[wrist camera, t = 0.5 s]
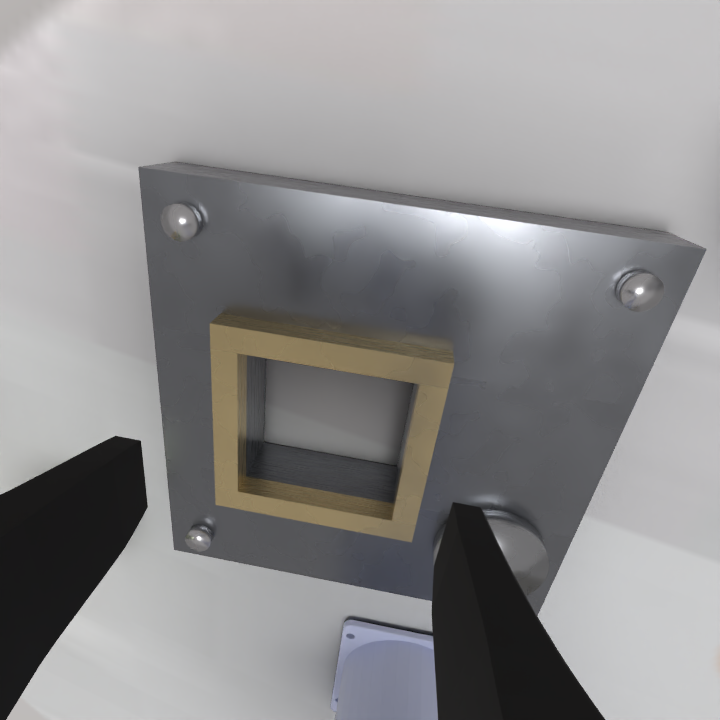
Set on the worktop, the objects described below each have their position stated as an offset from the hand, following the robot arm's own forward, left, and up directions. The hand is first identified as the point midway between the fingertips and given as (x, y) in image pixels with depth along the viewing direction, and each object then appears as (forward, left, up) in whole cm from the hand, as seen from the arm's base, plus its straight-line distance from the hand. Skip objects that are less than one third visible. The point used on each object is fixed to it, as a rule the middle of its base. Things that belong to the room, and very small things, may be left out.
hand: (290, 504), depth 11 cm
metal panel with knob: (-3, -2, -10) cm, 11 cm away
